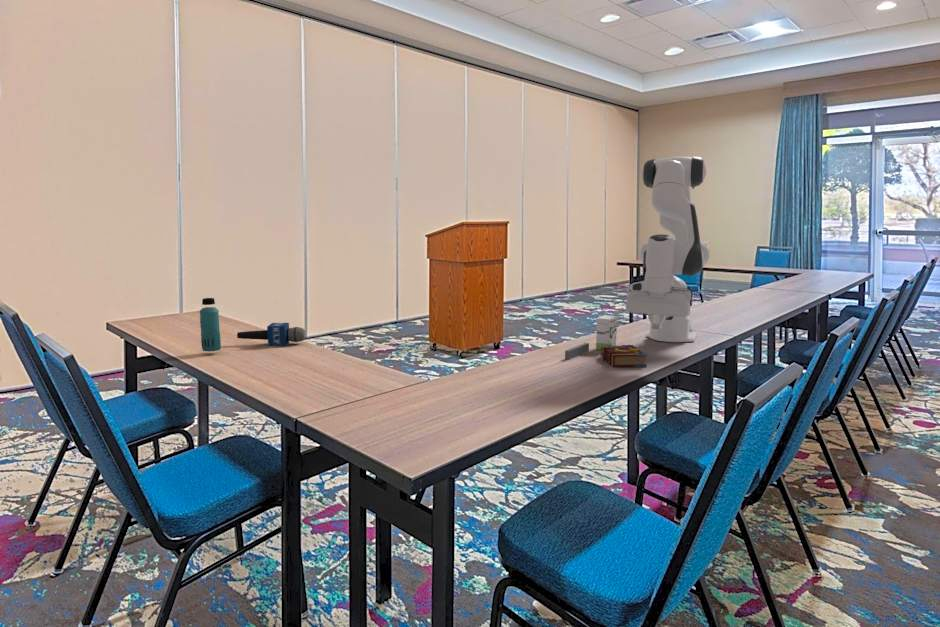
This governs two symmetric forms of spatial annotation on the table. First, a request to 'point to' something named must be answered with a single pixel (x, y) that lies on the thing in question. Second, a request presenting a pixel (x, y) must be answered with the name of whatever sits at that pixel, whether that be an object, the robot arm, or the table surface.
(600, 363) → the table surface
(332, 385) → the table surface
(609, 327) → the ink box
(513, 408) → the table surface
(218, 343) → the beverage bottle
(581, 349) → the charcoal bar
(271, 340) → the microphone
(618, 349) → the decorative book
